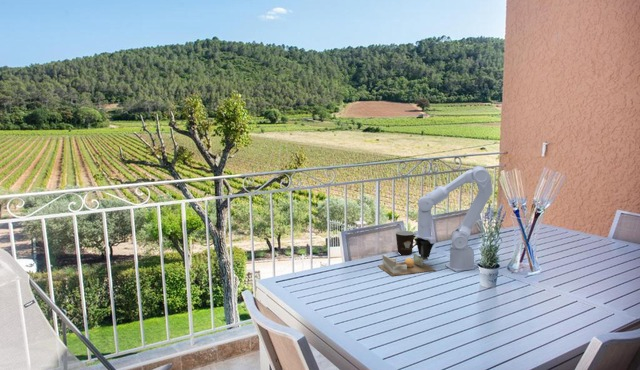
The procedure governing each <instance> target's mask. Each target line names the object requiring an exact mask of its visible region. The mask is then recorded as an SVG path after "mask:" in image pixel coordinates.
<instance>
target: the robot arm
mask: <svg viewBox="0 0 640 370" xmlns="http://www.w3.org/2000/svg"><path fill="white" fill-rule="evenodd" d="M474 182H475V183H476V187H477V189H478V192H477V194H476V195H475V198H473V199H474V200H473V201H472V203H471V205H470V206H469V208H468V209H467V212H466V213H465V215H464V217H463V219H462V221H461V223H460V224H459V225H458V226H457V228H455V230H453V231H452V232H451V234H450V239H451V244H450V246H449V263H448V264H445V267H447V268H448V269H450V270H451V271H454V272H461V271H463V272H464V271H470V270H475V269H476V267H475V252H474V251H475V250H474V249H473V248H472V247H471V246H468V245H469V238H470V236H471V232H472V230H473V228H474V226H475V224H476V222H477V221H478V219H479V217H480V215H481V214H482V213H483V210H484V208H485V207H486V205H487V203H488V201H489V199H490V198H491V196H492V194H493V184H492V176H491V174H490V172H489V171H488V169H486V168H485V167H484V166H482V165H476V166H474V167H473V168H470V169H468V170H467V171H465V172H464V173H463V172H462V174H460V175H459V176H457V177H456V178H455V179H453V180H452V181H450V182H449V183H447V184H446V185H445V186H443V185H439V186H437V185H436V186H435V187H434V189H433V190H431V191H430V192H428V193H425V194H424V195H423V196H421V197H420V198H419V199H418V201H417V206H418V211H417V213H418V214H417V230H415V231H413V232H414V236H415V238H414V240H413V241H415V244H417V245H416V247H417V252H418V256H421V245H422V247H423V255H424V257H425V258H426V257H428V258H430V255H431V251H432V249H433V246H434V245H435V244H436V238H435V237H434V236H433V235H432V216H433V215H432V209H433V207H434V206H437V205H438V204H440V203H441V202H442V201H445V200H446V199H447V198H448V197H449V194H450V193H451V192H453V191H454V190H456V189H458V188H459V187H461V186H463V185H465V184H474Z"/></svg>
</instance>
